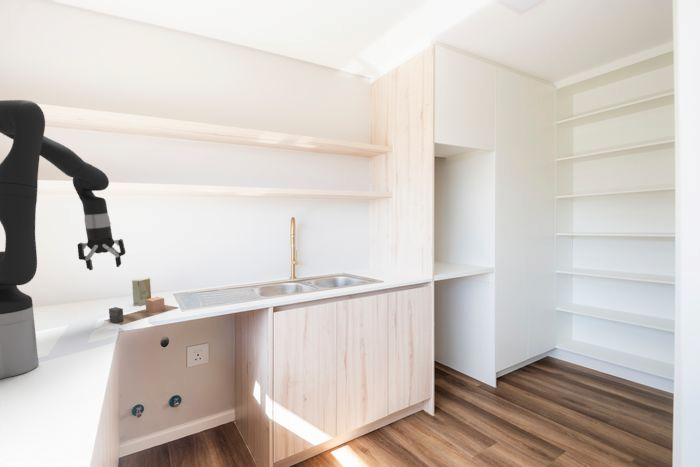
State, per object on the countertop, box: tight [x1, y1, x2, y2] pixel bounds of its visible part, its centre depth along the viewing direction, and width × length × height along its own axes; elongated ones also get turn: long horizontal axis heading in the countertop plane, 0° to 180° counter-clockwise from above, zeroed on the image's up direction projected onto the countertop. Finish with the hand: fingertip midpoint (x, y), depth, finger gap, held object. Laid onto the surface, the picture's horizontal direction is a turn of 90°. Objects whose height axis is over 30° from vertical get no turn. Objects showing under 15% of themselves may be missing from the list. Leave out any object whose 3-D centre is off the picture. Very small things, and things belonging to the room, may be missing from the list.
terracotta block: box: [145, 296, 166, 313], centre depth 148 cm, size 5×5×5 cm
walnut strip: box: [104, 304, 179, 326], centre depth 143 cm, size 24×12×6 cm, turn 151°
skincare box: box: [131, 277, 152, 307], centre depth 159 cm, size 6×4×12 cm
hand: (104, 268), depth 132 cm, fingers open, 8 cm apart
